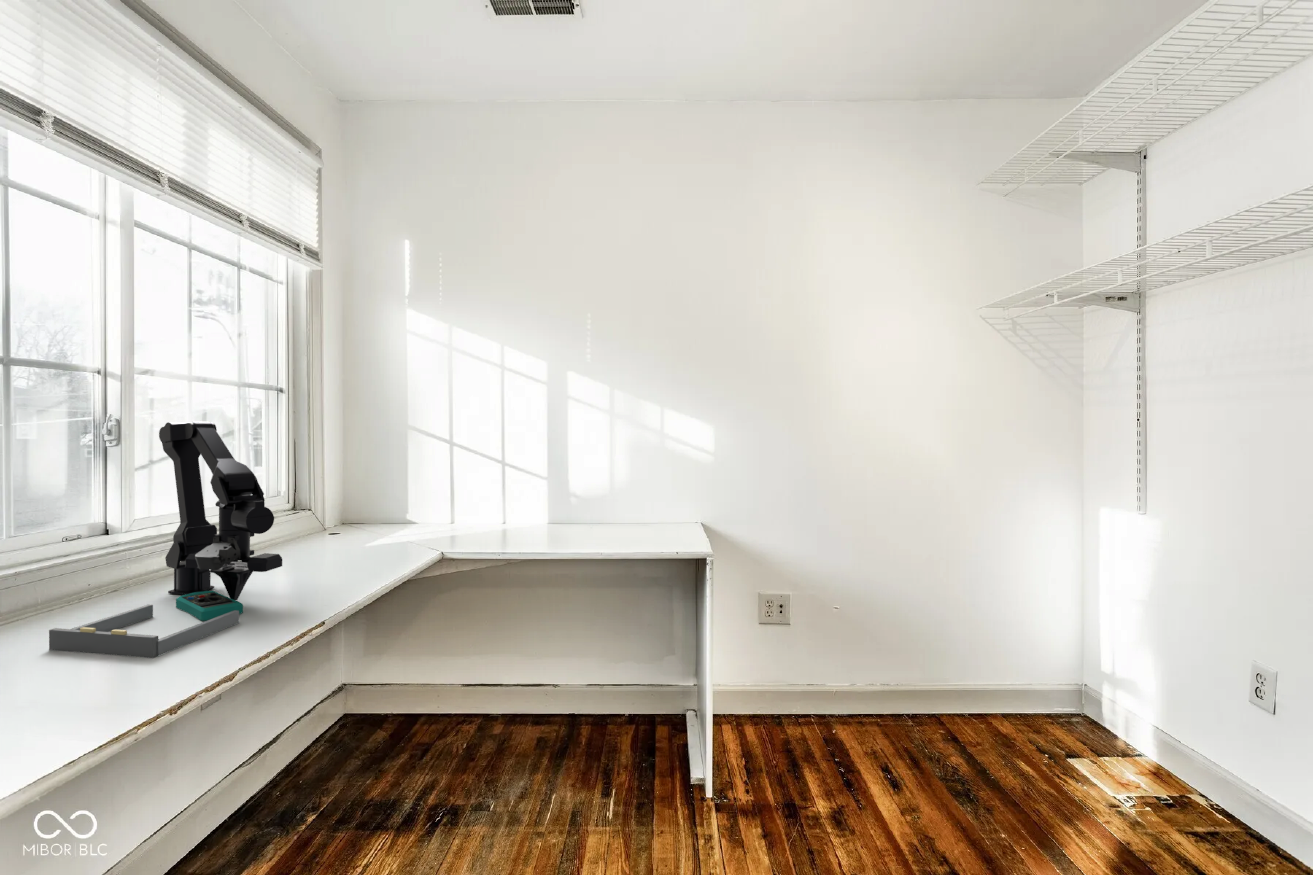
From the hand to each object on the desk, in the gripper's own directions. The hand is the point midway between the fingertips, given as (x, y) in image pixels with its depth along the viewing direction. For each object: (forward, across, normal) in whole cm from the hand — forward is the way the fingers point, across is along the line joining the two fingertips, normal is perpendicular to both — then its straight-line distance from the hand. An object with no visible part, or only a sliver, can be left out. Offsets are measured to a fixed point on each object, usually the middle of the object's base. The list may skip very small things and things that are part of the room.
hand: (234, 600), depth 144 cm
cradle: (+1, 0, -20) cm, 20 cm away
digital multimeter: (+2, -2, -5) cm, 5 cm away
